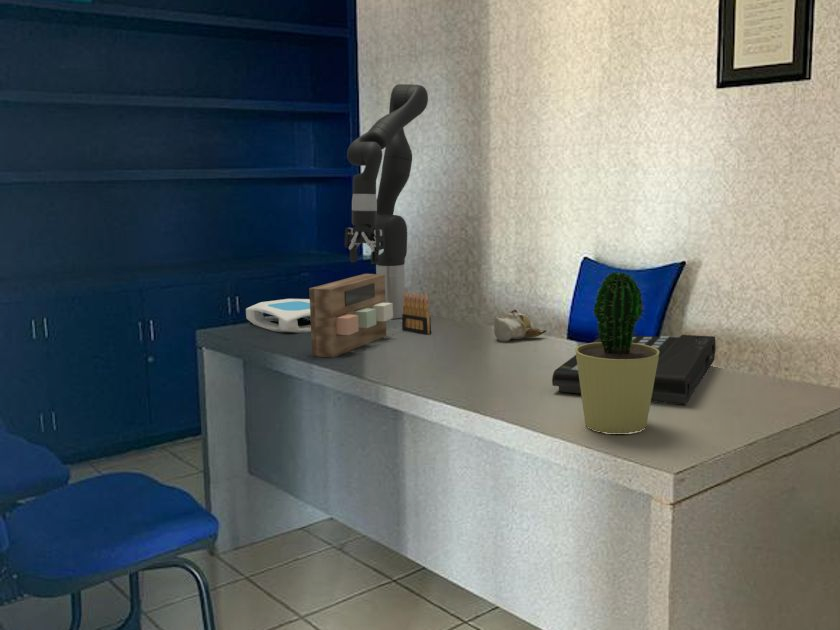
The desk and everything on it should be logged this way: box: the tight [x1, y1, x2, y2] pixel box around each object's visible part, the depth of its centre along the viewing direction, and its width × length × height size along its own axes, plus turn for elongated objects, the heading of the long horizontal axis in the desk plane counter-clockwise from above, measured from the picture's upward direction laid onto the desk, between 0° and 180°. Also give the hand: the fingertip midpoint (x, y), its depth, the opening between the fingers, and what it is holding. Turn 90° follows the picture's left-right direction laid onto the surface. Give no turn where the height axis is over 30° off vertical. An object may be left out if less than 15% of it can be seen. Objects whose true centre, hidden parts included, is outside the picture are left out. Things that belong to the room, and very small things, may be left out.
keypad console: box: [308, 273, 387, 358], centre depth 238 cm, size 7×30×18 cm, turn 155°
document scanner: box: [245, 298, 311, 334], centre depth 272 cm, size 21×28×6 cm
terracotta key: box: [336, 314, 359, 335], centre depth 228 cm, size 6×5×4 cm
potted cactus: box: [574, 270, 659, 433], centre depth 161 cm, size 15×15×30 cm
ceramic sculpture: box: [493, 309, 547, 342], centre depth 243 cm, size 11×9×15 cm
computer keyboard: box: [551, 334, 717, 405], centre depth 200 cm, size 45×28×7 cm, turn 154°
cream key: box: [372, 302, 393, 322], centre depth 245 cm, size 6×5×4 cm
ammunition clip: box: [401, 291, 432, 336], centre depth 255 cm, size 11×2×12 cm, turn 45°
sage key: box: [355, 308, 376, 328], centre depth 236 cm, size 6×5×4 cm
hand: (364, 263), depth 261 cm, fingers open, 8 cm apart
